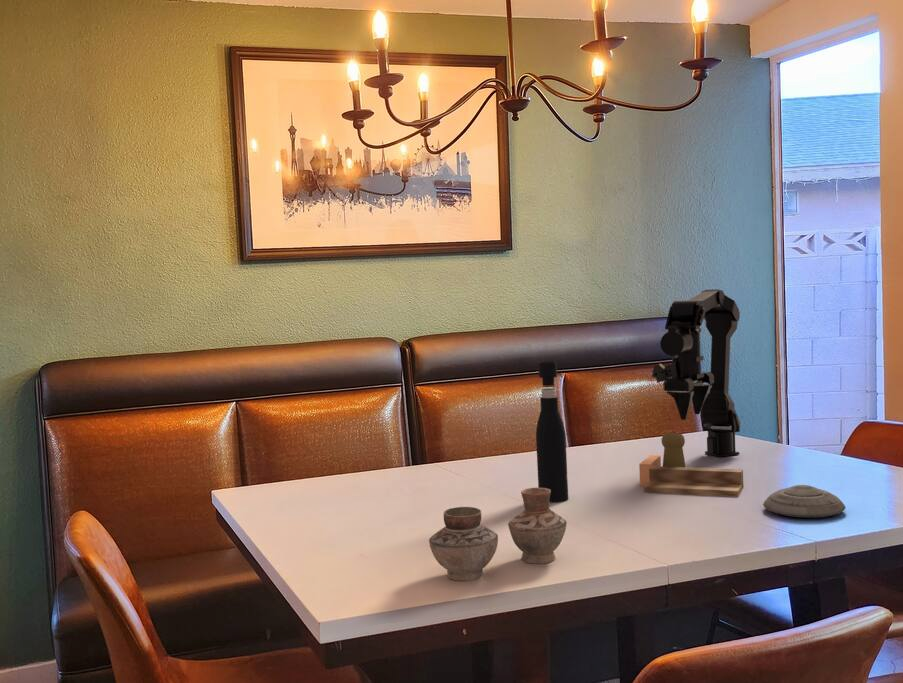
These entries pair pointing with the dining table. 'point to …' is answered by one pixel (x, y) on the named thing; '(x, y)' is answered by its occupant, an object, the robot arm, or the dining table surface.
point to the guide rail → (689, 479)
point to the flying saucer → (804, 502)
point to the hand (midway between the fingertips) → (690, 416)
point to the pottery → (474, 545)
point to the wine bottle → (551, 438)
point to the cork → (673, 450)
